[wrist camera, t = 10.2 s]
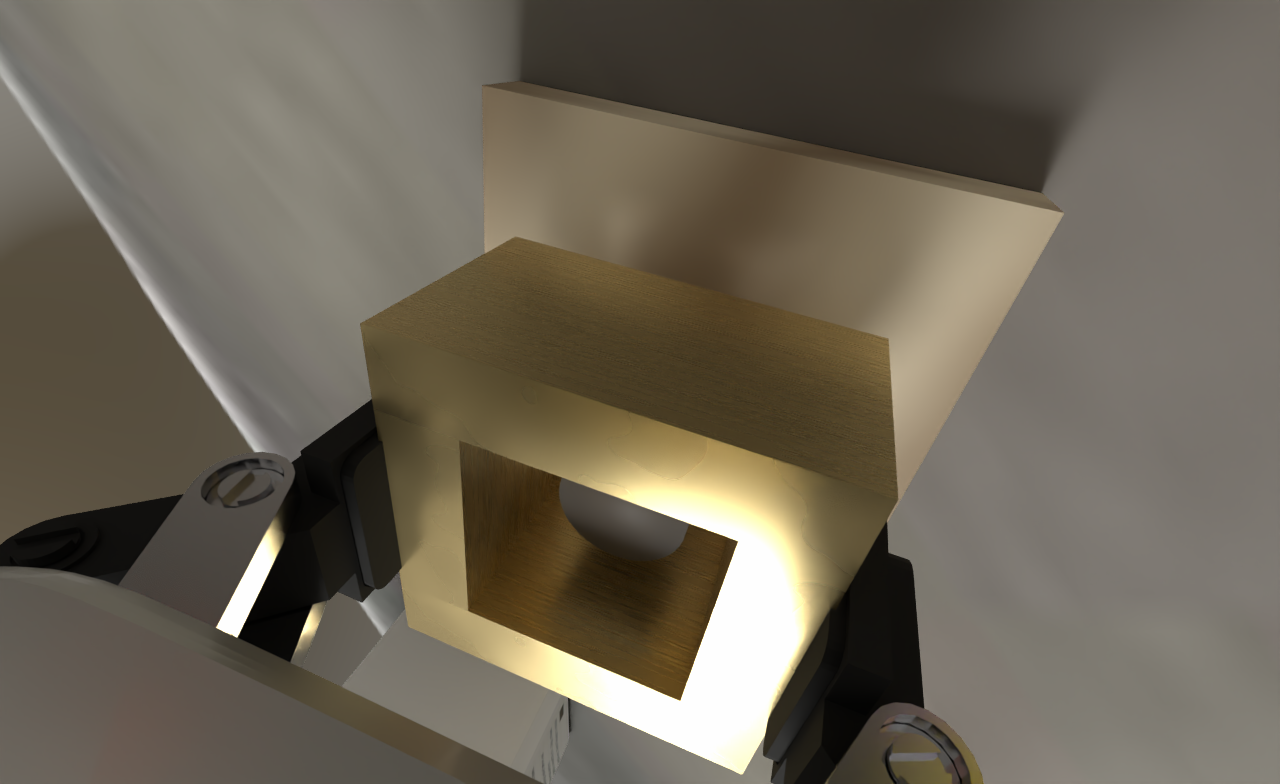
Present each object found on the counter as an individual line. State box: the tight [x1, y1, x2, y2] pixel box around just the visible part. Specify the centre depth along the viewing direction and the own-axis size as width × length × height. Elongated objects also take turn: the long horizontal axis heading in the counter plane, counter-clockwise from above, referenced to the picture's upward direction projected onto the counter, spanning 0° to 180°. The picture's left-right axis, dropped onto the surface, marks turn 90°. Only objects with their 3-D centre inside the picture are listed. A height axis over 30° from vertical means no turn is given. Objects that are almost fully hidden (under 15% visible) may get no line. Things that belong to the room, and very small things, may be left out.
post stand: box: [482, 81, 1064, 561], centre depth 12 cm, size 11×11×6 cm
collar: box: [360, 236, 898, 774], centre depth 10 cm, size 7×7×4 cm
